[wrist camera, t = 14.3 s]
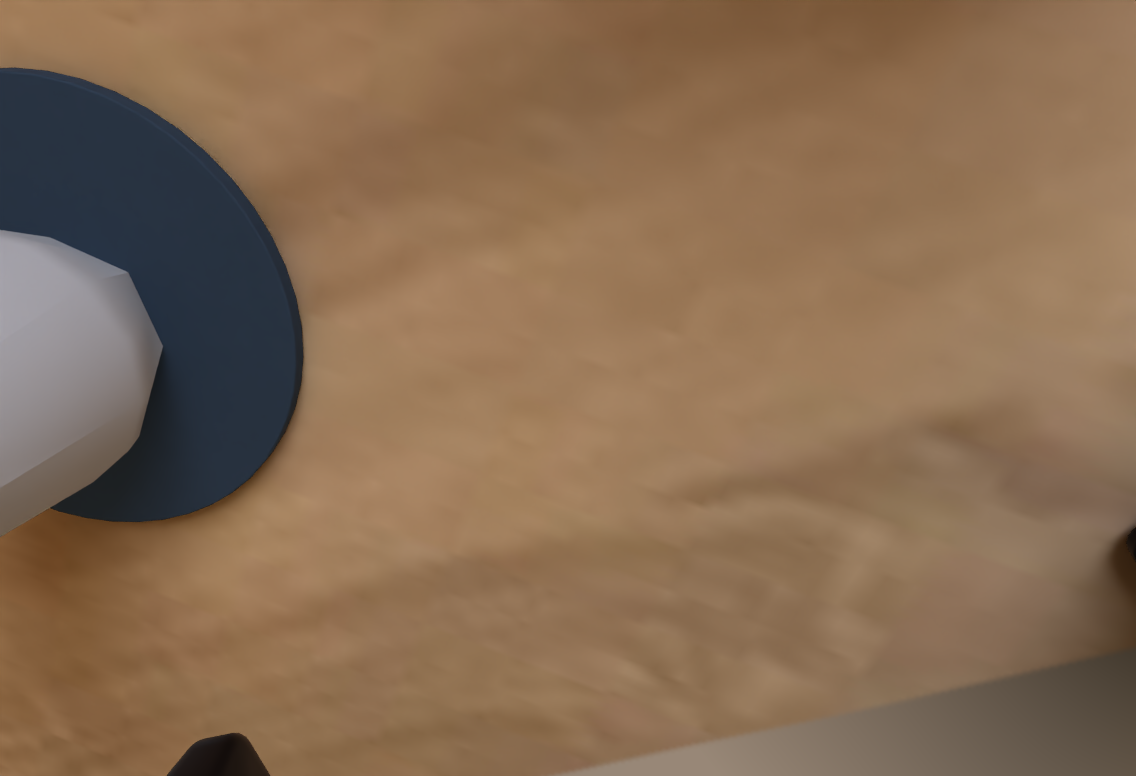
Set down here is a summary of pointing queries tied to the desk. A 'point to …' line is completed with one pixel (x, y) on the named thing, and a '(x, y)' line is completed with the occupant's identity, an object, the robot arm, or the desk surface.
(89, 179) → the coaster
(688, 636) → the desk surface
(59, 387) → the salt shaker
